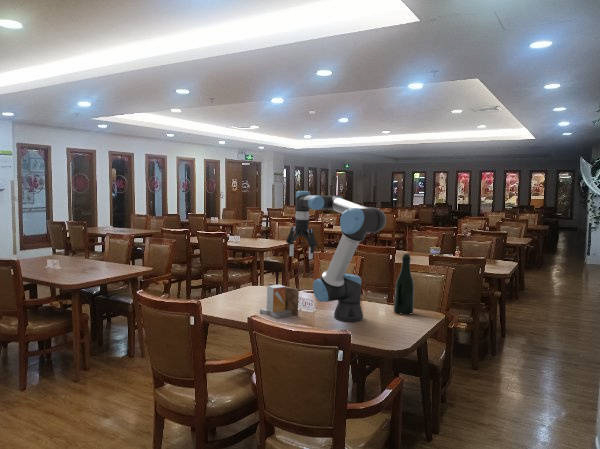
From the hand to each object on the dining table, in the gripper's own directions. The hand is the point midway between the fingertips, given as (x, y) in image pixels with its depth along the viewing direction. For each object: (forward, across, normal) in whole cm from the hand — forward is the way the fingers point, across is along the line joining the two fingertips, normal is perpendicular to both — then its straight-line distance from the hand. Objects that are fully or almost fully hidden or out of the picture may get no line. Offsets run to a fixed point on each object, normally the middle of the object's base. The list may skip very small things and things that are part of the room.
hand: (300, 257), depth 261 cm
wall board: (+29, +2, +16) cm, 33 cm away
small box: (+27, +2, +18) cm, 32 cm away
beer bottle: (+29, -46, -35) cm, 65 cm away
